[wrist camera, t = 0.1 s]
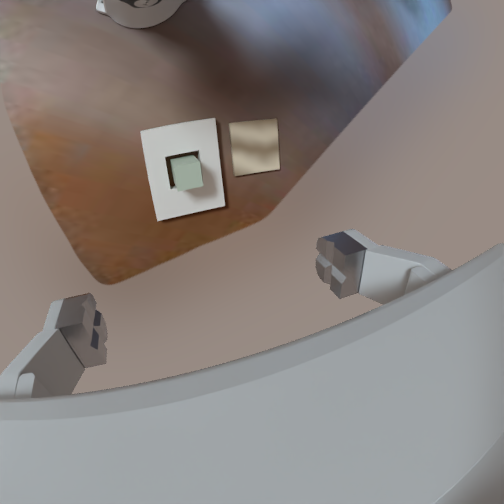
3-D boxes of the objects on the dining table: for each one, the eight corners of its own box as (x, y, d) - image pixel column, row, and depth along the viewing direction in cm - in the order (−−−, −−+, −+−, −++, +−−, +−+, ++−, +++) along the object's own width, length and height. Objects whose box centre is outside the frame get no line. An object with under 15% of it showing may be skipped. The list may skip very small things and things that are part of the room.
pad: (228, 123, 52) (229, 123, 51) (275, 118, 55) (277, 118, 54) (233, 175, 58) (234, 176, 57) (278, 168, 60) (279, 169, 59)
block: (170, 159, 52) (173, 166, 45) (192, 154, 53) (199, 161, 46) (173, 181, 54) (177, 191, 47) (195, 176, 55) (203, 186, 48)
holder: (140, 130, 47) (140, 131, 45) (212, 117, 50) (215, 118, 49) (157, 217, 56) (157, 221, 54) (222, 202, 60) (225, 205, 58)
